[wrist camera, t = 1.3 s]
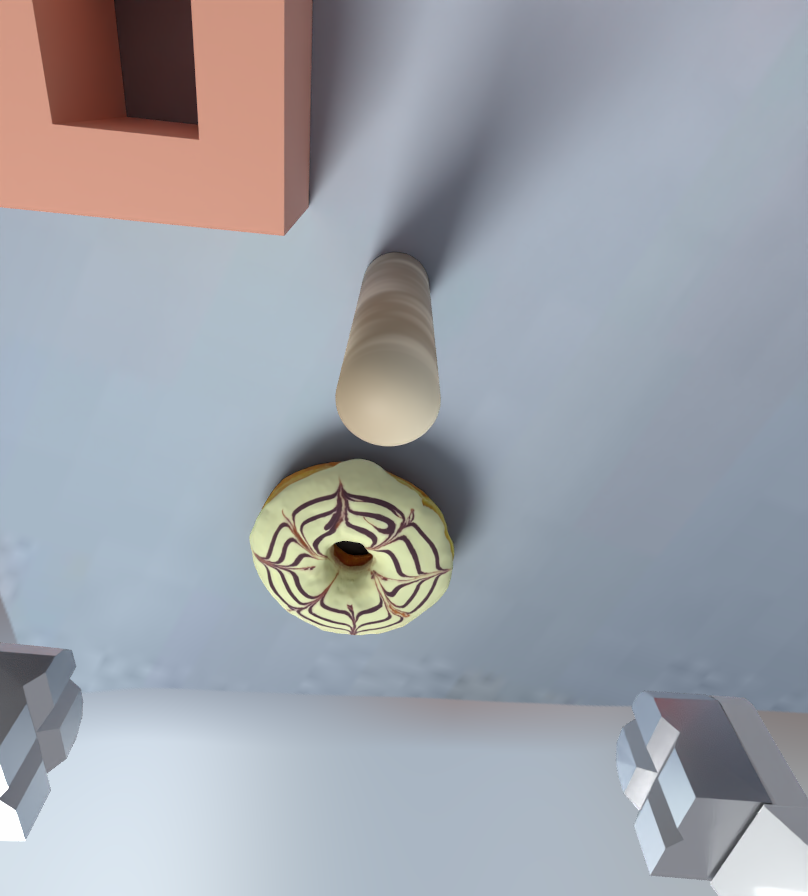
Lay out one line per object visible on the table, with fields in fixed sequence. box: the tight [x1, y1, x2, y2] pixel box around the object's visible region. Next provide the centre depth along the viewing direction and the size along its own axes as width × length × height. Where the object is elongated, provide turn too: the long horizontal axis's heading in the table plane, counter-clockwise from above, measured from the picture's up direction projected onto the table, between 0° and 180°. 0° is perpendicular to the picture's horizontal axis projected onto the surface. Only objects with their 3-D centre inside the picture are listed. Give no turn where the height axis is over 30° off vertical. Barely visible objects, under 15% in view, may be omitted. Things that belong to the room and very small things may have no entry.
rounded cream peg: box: [336, 252, 441, 446], centre depth 23 cm, size 3×3×12 cm
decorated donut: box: [249, 459, 454, 635], centre depth 34 cm, size 10×11×4 cm
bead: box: [0, 0, 313, 236], centre depth 21 cm, size 10×10×6 cm
